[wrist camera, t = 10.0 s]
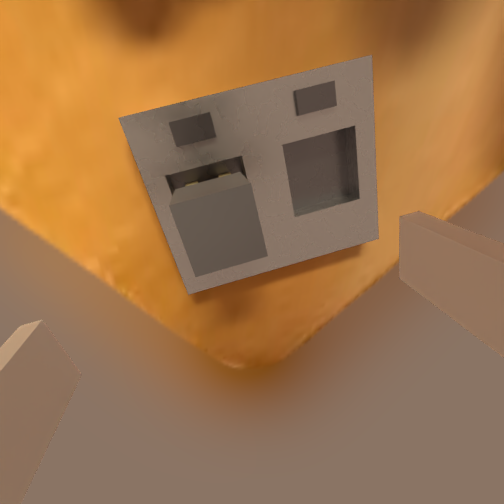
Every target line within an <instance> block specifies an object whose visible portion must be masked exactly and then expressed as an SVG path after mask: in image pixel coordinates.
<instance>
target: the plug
mask: <svg viewBox="0 0 504 504" xmlns="http://www.w3.org/2000/svg"><path fill="white" fill-rule="evenodd" d="M169 207H170V210H171V213H172V216H173V218H174V221H175V224H176V226H177V229H178V232H179V234H180V237H181V240H182V242H183V245H184V248H185V250H186V253H187V256H188V258H189V261H190V264H191V266H192V269H193V272H194V274H195V277H199V276H202V275H205V274H209V273H212V272H216V271H219V270H222V269H226V268H229V267H233V266H236V265H240V264H243V263H246V262H250V261H253V260H257V259H260V258H264V257H267V256H268V254H267V250H266V245H265V241H264V237H263V233H262V228H261V224H260V220H259V215H258V211H257V207H256V202H255V198H254V194H253V190H252V185H251V183H250V182H249V181H248V180H247V179H246V178H245V177H244V175H243V174H242V173H241V172H237V173H233V174H231V173H230V172H227V173H224V174H220V175H218V178H215V179H211V180H207V181H204V182H200V183H198V181H194V182H190V183H187V184H186V185H185V187H182V188H178V189H175V191H174V194H173V196H172V199H171V201H170V204H169Z"/></svg>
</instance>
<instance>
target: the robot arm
mask: <svg viewBox="0 0 504 504" xmlns="http://www.w3.org/2000/svg"><path fill="white" fill-rule="evenodd" d="M399 279H400V280H402V281H403V282H404V283H406V284H407V285H408V286H410V287H411V288H412V289H413V290H415V291H416V292H418V293H419V294H420V295H421V296H423V297H424V298H425V299H427V300H428V301H429V302H431V303H432V304H433V305H435V306H436V307H437V308H439V309H440V310H441V311H443V312H444V313H445V314H447V315H448V316H449V317H450V318H452V319H453V320H454V321H456V322H457V323H458V324H460V325H461V326H462V327H464V328H465V329H466V330H468V331H469V332H470V333H472V334H473V335H474V336H476V337H477V338H478V339H480V340H481V341H482V342H483V343H485V344H486V345H488V346H489V347H490V348H491V349H493V350H494V351H496V352H497V353H498V354H499V355H501V356H502V357H503V358H504V243H501V242H498V241H496V240H493V239H490V238H488V237H485V236H483V235H480V234H477V233H475V232H472V231H469V230H467V229H464V228H461V227H459V226H456V225H454V224H451V223H449V222H446V221H443V220H441V219H438V218H436V217H433V216H430V215H428V214H425V213H422V212H420V211H417V212H414V213H410V214H407V215H403V216H400V232H399ZM81 375H82V374H81V373H80V371H79V370H78V369H77V367H76V366H75V364H74V363H73V362H72V360H71V359H70V357H69V356H68V355H67V353H66V352H65V350H64V349H63V347H62V346H61V345H60V343H59V342H58V340H57V339H56V338H55V336H54V335H53V333H52V332H51V331H50V329H49V328H48V326H47V325H46V324H45V322H44V321H43V320H39V321H36V322H32V323H29V324H25V325H22V326H20V327H19V328H18V329H17V330H16V331H15V332H14V333H13V334H12V335H11V336H10V338H9V339H8V340H7V341H6V342H5V343H4V345H2V346H1V348H0V504H21V503H22V501H23V498H24V496H25V494H26V492H27V490H28V488H29V486H30V484H31V481H32V479H33V477H34V475H35V473H36V471H37V469H38V467H39V465H40V462H41V460H42V458H43V456H44V454H45V452H46V450H47V448H48V445H49V443H50V441H51V439H52V437H53V435H54V433H55V431H56V429H57V426H58V424H59V422H60V420H61V418H62V416H63V414H64V411H65V409H66V407H67V405H68V403H69V401H70V399H71V397H72V394H73V392H74V390H75V388H76V386H77V384H78V381H79V380H80V378H81Z"/></svg>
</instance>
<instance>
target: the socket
mask: <svg viewBox="0 0 504 504" xmlns="http://www.w3.org/2000/svg"><path fill="white" fill-rule="evenodd" d="M119 120H120V123H121V125H122V128H123V130H124V133H125V136H126V138H127V141H128V143H129V146H130V148H131V151H132V153H133V156H134V158H135V161H136V163H137V166H138V168H139V171H140V173H141V176H142V178H143V181H144V184H145V186H146V189H147V191H148V194H149V196H150V199H151V201H152V204H153V206H154V209H155V211H156V214H157V216H158V219H159V221H160V224H161V226H162V229H163V232H164V234H165V237H166V239H167V242H168V244H169V247H170V249H171V252H172V254H173V257H174V259H175V262H176V264H177V267H178V269H179V272H180V274H181V277H182V280H183V282H184V285H185V287H186V290H187V292H188V295H189V294H192V293H196V292H199V291H203V290H206V289H209V288H213V287H216V286H220V285H223V284H226V283H230V282H233V281H237V280H240V279H243V278H247V277H250V276H254V275H257V274H260V273H264V272H267V271H271V270H274V269H277V268H281V267H284V266H288V265H291V264H294V263H298V262H301V261H305V260H308V259H311V258H315V257H318V256H322V255H325V254H328V253H332V252H335V251H339V250H342V249H345V248H349V247H352V246H356V245H359V244H362V243H366V242H369V241H373V240H376V239H379V235H378V207H377V179H376V151H375V123H374V95H373V67H372V55H369V56H365V57H361V58H357V59H353V60H349V61H345V62H341V63H337V64H333V65H329V66H325V67H321V68H317V69H313V70H309V71H305V72H301V73H297V74H293V75H289V76H285V77H281V78H277V79H273V80H269V81H265V82H261V83H257V84H253V85H249V86H245V87H241V88H237V89H233V90H229V91H225V92H221V93H217V94H213V95H208V96H204V97H200V98H196V99H192V100H188V101H184V102H180V103H176V104H172V105H168V106H164V107H160V108H156V109H152V110H148V111H144V112H140V113H136V114H132V115H128V116H124V117H120V118H119ZM227 172H230V173H231V174H233V173H237V172H241V173H242V174H243V175H244V177H245V178H246V179H247V180H248V181H249V182H250V183H251V185H252V190H253V194H254V198H255V202H256V207H257V211H258V215H259V220H260V224H261V228H262V233H263V237H264V241H265V245H266V250H267V254H268V256H267V257H264V258H260V259H257V260H253V261H250V262H246V263H243V264H240V265H236V266H233V267H229V268H226V269H222V270H219V271H216V272H212V273H209V274H205V275H202V276H199V277H195V274H194V272H193V269H192V266H191V264H190V261H189V258H188V256H187V253H186V250H185V248H184V245H183V242H182V240H181V237H180V234H179V232H178V229H177V226H176V224H175V221H174V218H173V216H172V213H171V210H170V207H169V204H170V201H171V199H172V196H173V194H174V191H175V189H178V188H182V187H185V185H186V184H187V183H190V182H194V181H198V183H200V182H204V181H207V180H211V179H215V178H218V175H220V174H224V173H227Z"/></svg>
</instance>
